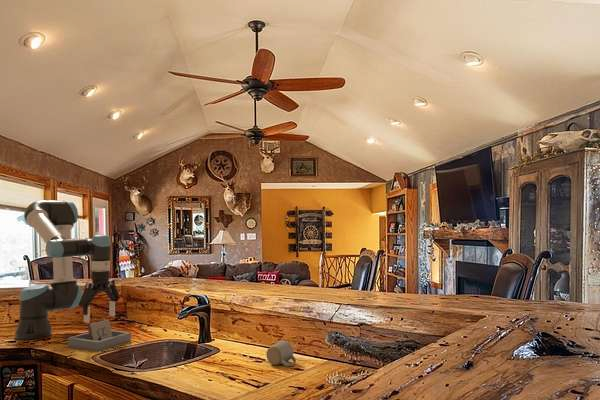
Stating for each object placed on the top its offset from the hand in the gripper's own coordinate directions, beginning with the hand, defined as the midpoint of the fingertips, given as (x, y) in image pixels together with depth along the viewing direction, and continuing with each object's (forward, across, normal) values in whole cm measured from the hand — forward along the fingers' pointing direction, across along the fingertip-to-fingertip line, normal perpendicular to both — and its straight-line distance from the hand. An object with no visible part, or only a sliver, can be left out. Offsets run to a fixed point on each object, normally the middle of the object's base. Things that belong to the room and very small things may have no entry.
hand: (99, 319), depth 206 cm
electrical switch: (+10, 0, 0) cm, 10 cm away
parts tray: (+11, 0, -1) cm, 11 cm away
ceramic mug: (+9, +8, -86) cm, 87 cm away
